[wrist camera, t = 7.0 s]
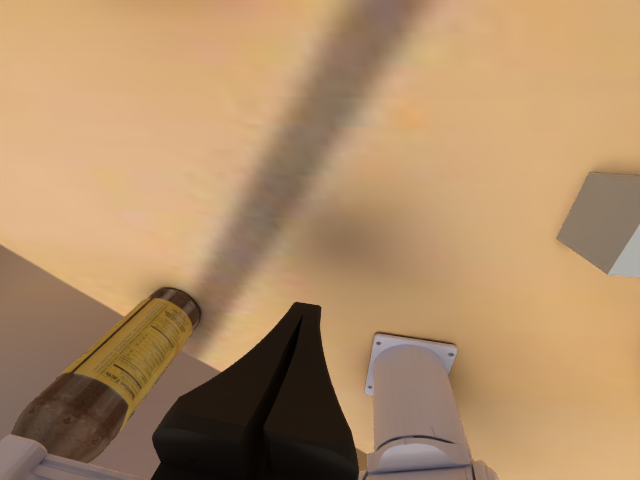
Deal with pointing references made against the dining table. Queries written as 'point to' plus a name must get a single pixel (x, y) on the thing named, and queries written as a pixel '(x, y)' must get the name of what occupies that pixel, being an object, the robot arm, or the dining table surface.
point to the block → (606, 223)
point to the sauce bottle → (110, 379)
